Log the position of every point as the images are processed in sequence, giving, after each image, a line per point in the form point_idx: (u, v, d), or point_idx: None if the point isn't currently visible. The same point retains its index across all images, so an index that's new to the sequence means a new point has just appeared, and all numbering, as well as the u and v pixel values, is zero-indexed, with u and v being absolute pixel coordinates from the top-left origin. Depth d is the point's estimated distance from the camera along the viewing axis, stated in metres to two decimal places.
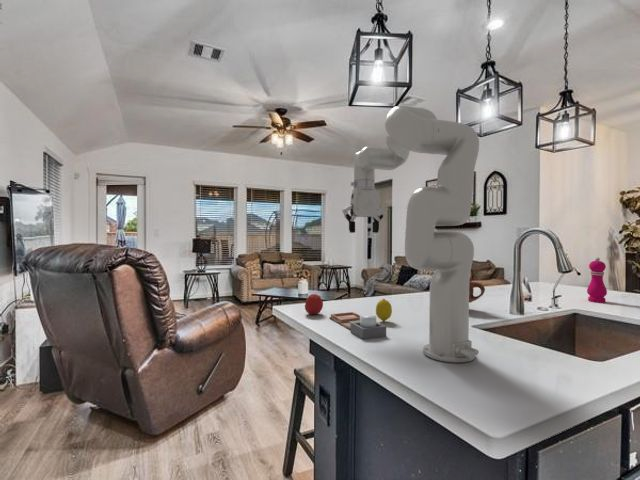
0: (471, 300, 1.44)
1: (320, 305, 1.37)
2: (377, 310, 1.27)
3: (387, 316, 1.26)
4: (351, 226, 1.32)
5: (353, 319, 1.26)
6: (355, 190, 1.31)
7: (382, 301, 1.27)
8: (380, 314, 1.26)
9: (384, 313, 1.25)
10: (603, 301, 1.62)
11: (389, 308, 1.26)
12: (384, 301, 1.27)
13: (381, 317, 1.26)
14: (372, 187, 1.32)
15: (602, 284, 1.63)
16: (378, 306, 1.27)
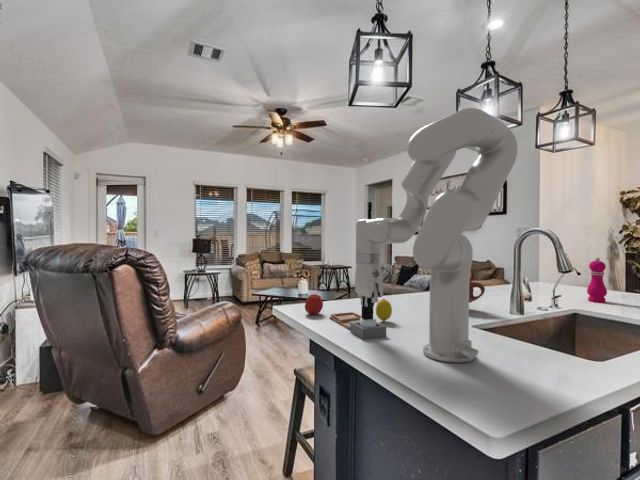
0: (471, 300, 1.44)
1: (320, 305, 1.37)
2: (377, 310, 1.27)
3: (387, 316, 1.26)
4: None
5: (353, 319, 1.26)
6: (379, 267, 1.08)
7: (382, 301, 1.27)
8: (380, 314, 1.26)
9: (384, 313, 1.25)
10: (603, 301, 1.62)
11: (389, 308, 1.26)
12: (384, 301, 1.27)
13: (381, 317, 1.26)
14: None
15: (602, 284, 1.63)
16: (378, 306, 1.27)
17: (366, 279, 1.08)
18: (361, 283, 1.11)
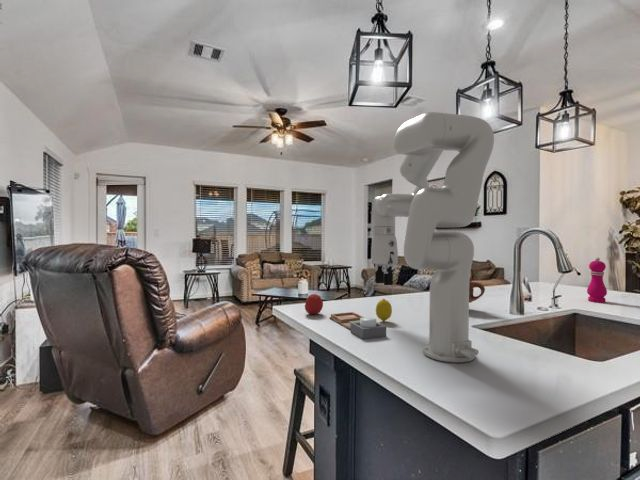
0: (471, 300, 1.44)
1: (320, 305, 1.37)
2: (377, 310, 1.27)
3: (387, 316, 1.26)
4: None
5: (353, 319, 1.26)
6: (394, 237, 1.24)
7: (382, 301, 1.27)
8: (380, 314, 1.26)
9: (384, 313, 1.25)
10: (603, 301, 1.62)
11: (389, 308, 1.26)
12: (384, 301, 1.27)
13: (381, 317, 1.26)
14: None
15: (602, 284, 1.63)
16: (378, 306, 1.27)
17: (383, 248, 1.24)
18: (378, 252, 1.26)
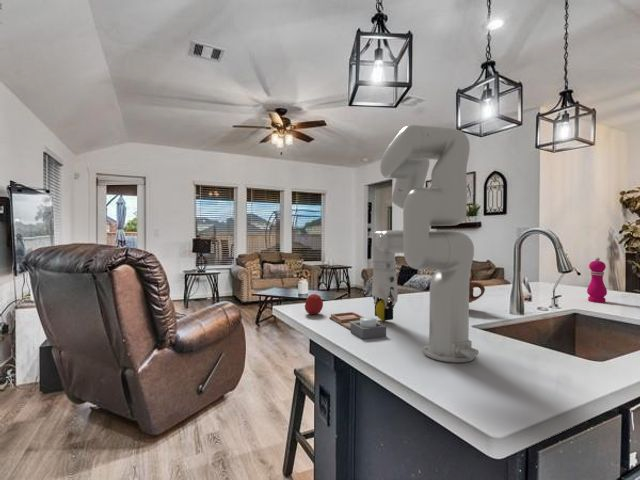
0: (471, 300, 1.44)
1: (320, 305, 1.37)
2: (377, 310, 1.27)
3: None
4: None
5: (353, 319, 1.26)
6: (394, 273, 1.24)
7: (382, 301, 1.27)
8: (380, 314, 1.26)
9: None
10: (603, 301, 1.62)
11: None
12: None
13: (381, 317, 1.26)
14: None
15: (602, 284, 1.63)
16: (378, 306, 1.27)
17: (383, 283, 1.24)
18: (378, 287, 1.27)
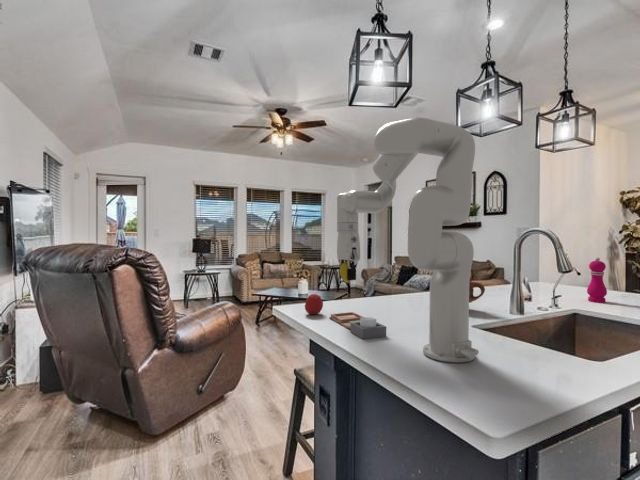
0: (471, 300, 1.44)
1: (320, 305, 1.37)
2: (341, 271, 1.28)
3: None
4: None
5: (353, 319, 1.26)
6: (357, 233, 1.26)
7: (346, 262, 1.29)
8: (344, 275, 1.28)
9: None
10: (603, 301, 1.62)
11: None
12: None
13: (344, 278, 1.28)
14: None
15: (602, 284, 1.63)
16: (342, 267, 1.28)
17: (345, 244, 1.26)
18: (342, 248, 1.28)
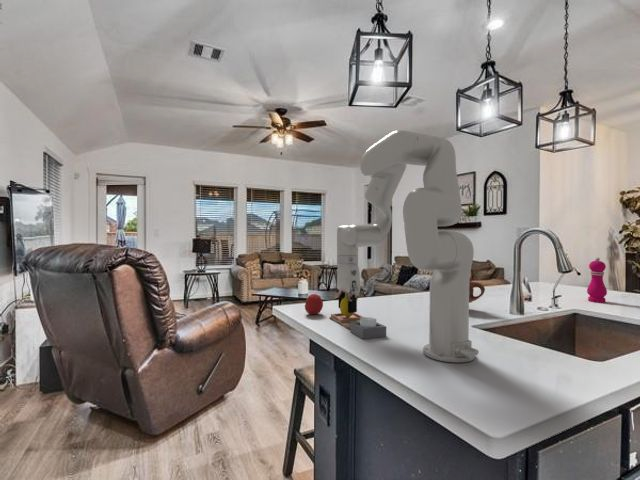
0: (471, 300, 1.44)
1: (320, 305, 1.37)
2: (341, 307, 1.29)
3: (350, 313, 1.28)
4: None
5: (353, 319, 1.26)
6: (357, 266, 1.26)
7: (346, 298, 1.29)
8: (344, 311, 1.28)
9: (347, 310, 1.27)
10: (603, 301, 1.62)
11: None
12: (348, 298, 1.29)
13: (345, 314, 1.28)
14: None
15: (602, 284, 1.63)
16: (342, 303, 1.29)
17: (345, 277, 1.26)
18: (341, 281, 1.29)
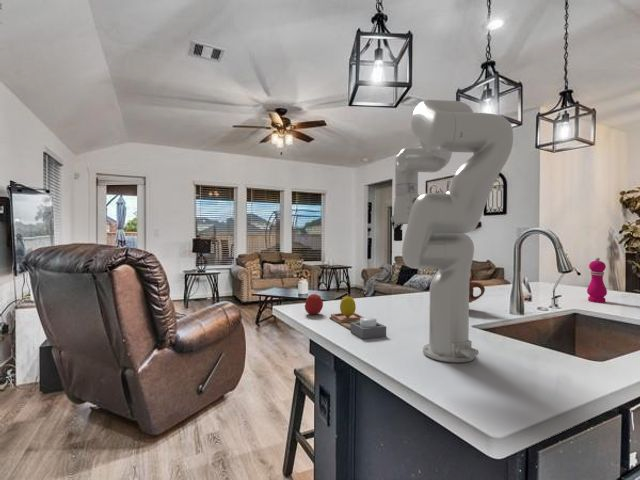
0: (471, 300, 1.44)
1: (320, 305, 1.37)
2: (341, 307, 1.29)
3: (350, 312, 1.28)
4: None
5: (353, 319, 1.26)
6: (418, 195, 1.20)
7: (346, 298, 1.29)
8: (344, 311, 1.28)
9: (347, 309, 1.27)
10: (603, 301, 1.62)
11: (352, 305, 1.28)
12: (348, 298, 1.29)
13: (344, 313, 1.28)
14: None
15: (602, 284, 1.63)
16: (342, 303, 1.29)
17: (406, 206, 1.20)
18: (401, 211, 1.22)
